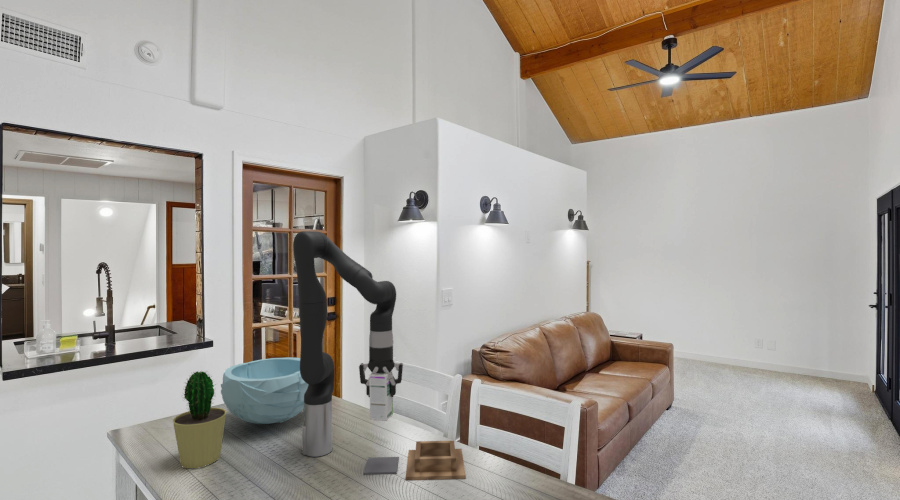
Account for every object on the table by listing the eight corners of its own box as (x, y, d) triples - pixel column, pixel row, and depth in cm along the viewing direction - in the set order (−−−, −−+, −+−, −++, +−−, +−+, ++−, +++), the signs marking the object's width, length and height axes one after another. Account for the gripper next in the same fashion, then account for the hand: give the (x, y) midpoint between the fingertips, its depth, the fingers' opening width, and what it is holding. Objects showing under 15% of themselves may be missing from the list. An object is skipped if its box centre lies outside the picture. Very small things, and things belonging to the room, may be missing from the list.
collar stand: (405, 480, 136) (405, 463, 136) (408, 452, 154) (408, 438, 154) (465, 478, 137) (465, 462, 137) (461, 451, 155) (461, 437, 155)
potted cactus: (237, 453, 154) (236, 365, 154) (199, 475, 140) (197, 378, 139) (202, 447, 159) (201, 361, 159) (161, 467, 145) (160, 373, 144)
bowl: (259, 450, 157) (259, 386, 156) (203, 428, 175) (202, 372, 175) (335, 417, 186) (334, 364, 186) (280, 402, 205) (279, 353, 205)
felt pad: (363, 474, 140) (363, 472, 140) (368, 459, 150) (368, 457, 150) (396, 473, 140) (396, 471, 140) (398, 458, 150) (398, 456, 150)
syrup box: (387, 421, 141) (387, 374, 141) (369, 419, 142) (369, 373, 142) (393, 414, 147) (392, 369, 147) (375, 413, 148) (375, 368, 148)
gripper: (356, 347, 140) (356, 400, 141) (403, 346, 141) (403, 400, 141) (360, 341, 148) (360, 392, 148) (404, 341, 148) (404, 392, 149)
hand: (381, 396), depth 145 cm, fingers closed on syrup box, 6 cm apart
